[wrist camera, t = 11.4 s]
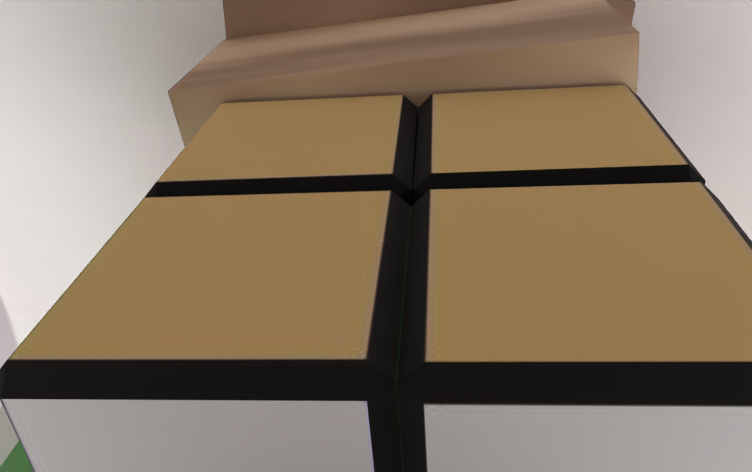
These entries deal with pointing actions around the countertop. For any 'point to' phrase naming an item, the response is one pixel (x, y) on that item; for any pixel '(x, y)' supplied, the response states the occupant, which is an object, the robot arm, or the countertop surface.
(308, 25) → the tower base
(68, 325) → the puzzle cube
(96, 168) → the countertop surface
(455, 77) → the tower top
